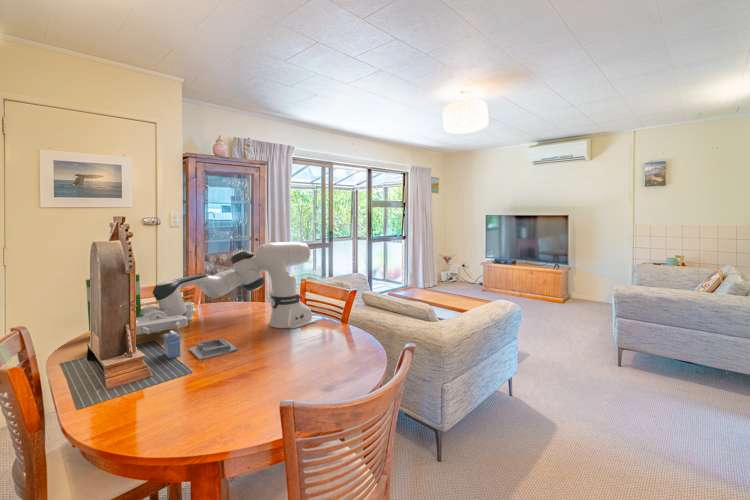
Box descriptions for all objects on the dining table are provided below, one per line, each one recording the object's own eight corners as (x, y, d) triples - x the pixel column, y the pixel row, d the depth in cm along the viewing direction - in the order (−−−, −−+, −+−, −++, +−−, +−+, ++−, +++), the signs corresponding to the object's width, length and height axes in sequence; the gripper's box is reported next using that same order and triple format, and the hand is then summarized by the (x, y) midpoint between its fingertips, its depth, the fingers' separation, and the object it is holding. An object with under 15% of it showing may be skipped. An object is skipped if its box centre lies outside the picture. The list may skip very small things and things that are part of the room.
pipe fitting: (188, 322, 177) (188, 305, 176) (177, 320, 179) (176, 304, 179) (199, 318, 183) (198, 302, 182) (188, 316, 185) (187, 301, 184)
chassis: (226, 342, 151) (226, 336, 151) (237, 350, 142) (237, 344, 142) (189, 350, 142) (189, 343, 141) (198, 359, 133) (198, 353, 132)
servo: (175, 350, 141) (174, 327, 141) (181, 356, 135) (180, 332, 134) (163, 352, 139) (162, 329, 138) (169, 359, 133) (168, 335, 132)
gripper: (183, 324, 163) (192, 332, 153) (128, 333, 150) (133, 342, 139) (183, 310, 162) (192, 317, 152) (127, 318, 149) (132, 326, 139)
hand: (163, 329), depth 146 cm, fingers open, 8 cm apart
